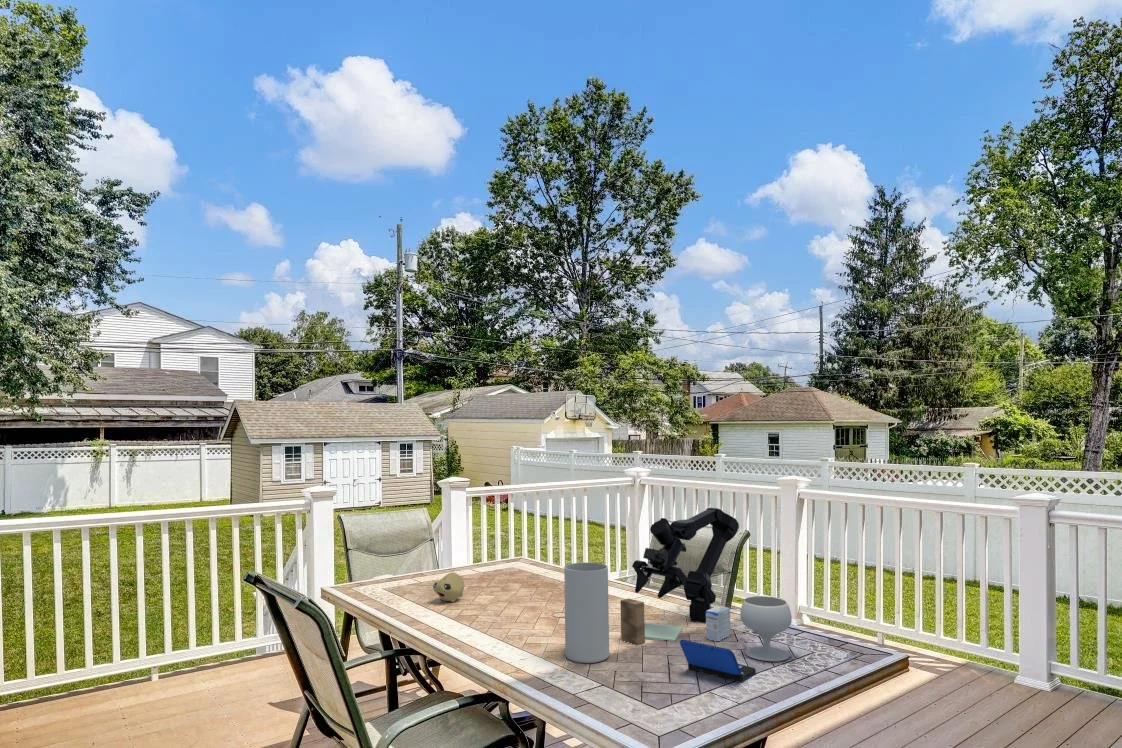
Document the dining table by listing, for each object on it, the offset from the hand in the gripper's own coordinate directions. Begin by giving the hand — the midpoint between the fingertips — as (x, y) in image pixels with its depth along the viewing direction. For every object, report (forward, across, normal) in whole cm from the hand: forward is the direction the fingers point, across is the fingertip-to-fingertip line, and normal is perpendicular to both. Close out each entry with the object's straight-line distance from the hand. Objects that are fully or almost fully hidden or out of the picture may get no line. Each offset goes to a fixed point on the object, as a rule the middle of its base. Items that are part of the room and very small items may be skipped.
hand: (647, 594), depth 208 cm
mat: (+6, -2, +12) cm, 14 cm away
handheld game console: (+17, +33, +2) cm, 37 cm away
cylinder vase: (+28, 0, -9) cm, 29 cm away
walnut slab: (+14, 0, +4) cm, 15 cm away
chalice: (+1, +34, +17) cm, 38 cm away
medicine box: (-2, +16, +20) cm, 25 cm away
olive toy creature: (+24, -81, -6) cm, 84 cm away
